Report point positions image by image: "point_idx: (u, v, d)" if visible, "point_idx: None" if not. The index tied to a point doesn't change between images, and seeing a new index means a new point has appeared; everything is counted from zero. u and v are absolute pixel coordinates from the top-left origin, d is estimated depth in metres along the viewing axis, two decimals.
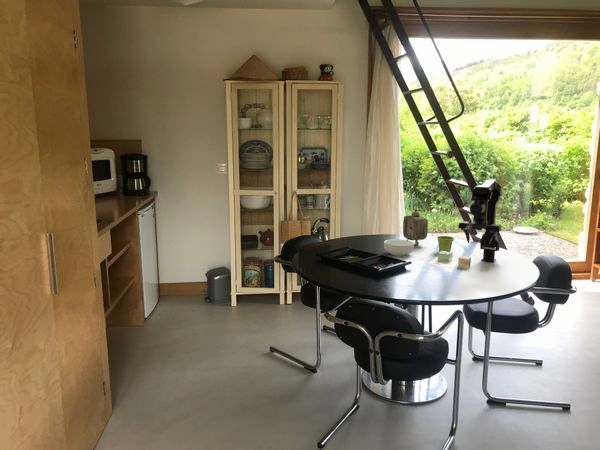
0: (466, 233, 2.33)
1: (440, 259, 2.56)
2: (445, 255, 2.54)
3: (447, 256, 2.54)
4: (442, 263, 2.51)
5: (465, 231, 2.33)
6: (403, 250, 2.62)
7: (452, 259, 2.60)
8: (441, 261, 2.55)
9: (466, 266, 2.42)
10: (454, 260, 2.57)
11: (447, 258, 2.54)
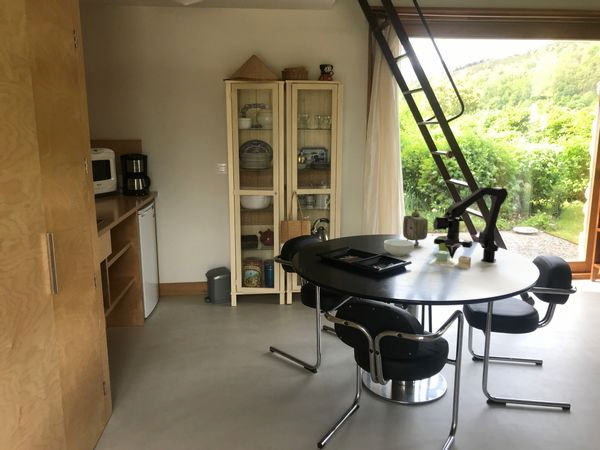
0: (449, 249, 2.54)
1: (438, 259, 2.57)
2: (443, 255, 2.55)
3: (445, 256, 2.55)
4: (442, 263, 2.51)
5: (448, 247, 2.54)
6: (403, 250, 2.62)
7: (452, 259, 2.60)
8: (441, 261, 2.55)
9: (466, 266, 2.42)
10: (454, 260, 2.57)
11: (445, 258, 2.55)
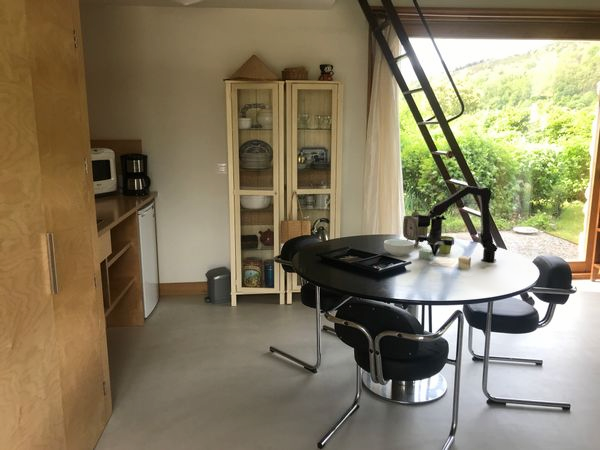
0: (432, 247, 2.59)
1: (421, 257, 2.62)
2: (426, 253, 2.60)
3: (428, 254, 2.59)
4: (442, 263, 2.51)
5: (431, 245, 2.58)
6: (403, 250, 2.62)
7: (452, 259, 2.60)
8: (441, 261, 2.55)
9: (466, 266, 2.42)
10: (454, 260, 2.57)
11: (428, 256, 2.60)
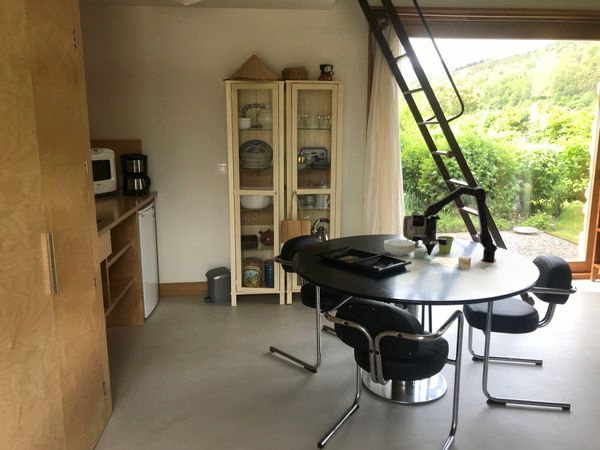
0: (427, 246, 2.61)
1: (416, 256, 2.63)
2: (421, 252, 2.61)
3: (423, 253, 2.61)
4: (442, 263, 2.51)
5: (426, 245, 2.60)
6: (403, 250, 2.62)
7: (452, 259, 2.60)
8: (441, 261, 2.55)
9: (466, 266, 2.42)
10: (454, 260, 2.57)
11: (423, 255, 2.61)
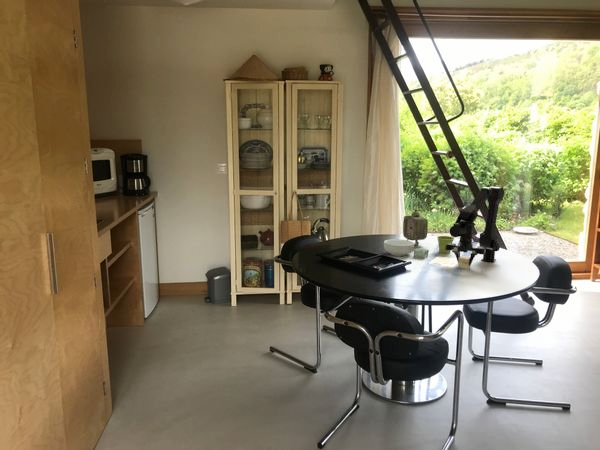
0: (457, 255, 2.45)
1: (416, 256, 2.63)
2: (420, 252, 2.62)
3: (422, 253, 2.61)
4: (442, 263, 2.51)
5: (456, 253, 2.44)
6: (403, 250, 2.62)
7: (452, 259, 2.60)
8: (441, 261, 2.55)
9: (466, 266, 2.42)
10: (454, 260, 2.57)
11: (422, 255, 2.61)
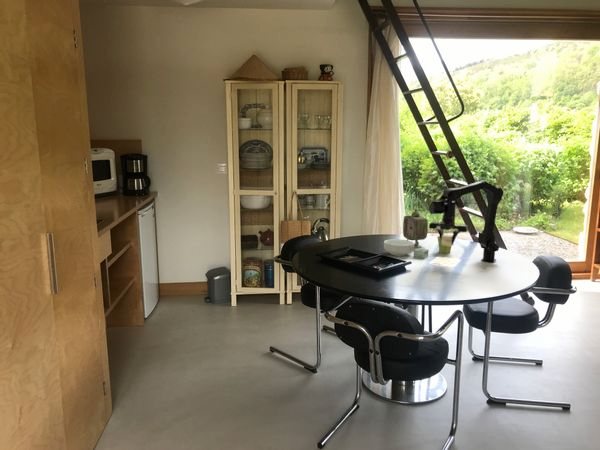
0: (440, 233, 2.51)
1: (415, 256, 2.64)
2: (420, 252, 2.62)
3: (422, 253, 2.61)
4: (442, 263, 2.51)
5: (439, 231, 2.50)
6: (403, 250, 2.62)
7: (452, 259, 2.60)
8: (441, 261, 2.55)
9: (449, 244, 2.48)
10: (454, 260, 2.57)
11: (422, 255, 2.61)
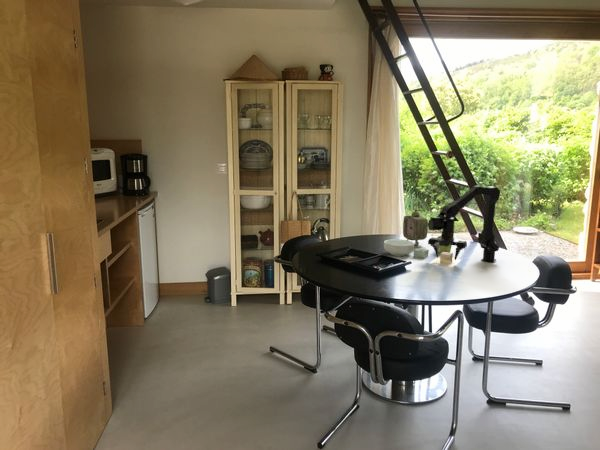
0: (435, 248, 2.53)
1: (415, 256, 2.64)
2: (420, 252, 2.62)
3: (422, 253, 2.61)
4: (442, 263, 2.51)
5: (434, 247, 2.53)
6: (403, 250, 2.62)
7: (452, 259, 2.60)
8: None
9: (448, 261, 2.50)
10: (454, 260, 2.57)
11: (422, 255, 2.61)
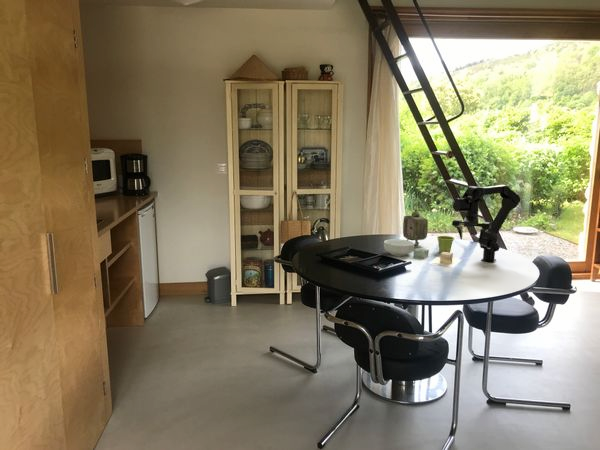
0: (459, 230, 2.52)
1: (415, 256, 2.64)
2: (420, 252, 2.62)
3: (422, 253, 2.61)
4: (442, 263, 2.51)
5: (458, 228, 2.52)
6: (403, 250, 2.62)
7: (452, 259, 2.60)
8: None
9: (448, 261, 2.50)
10: (454, 260, 2.57)
11: (422, 255, 2.61)
